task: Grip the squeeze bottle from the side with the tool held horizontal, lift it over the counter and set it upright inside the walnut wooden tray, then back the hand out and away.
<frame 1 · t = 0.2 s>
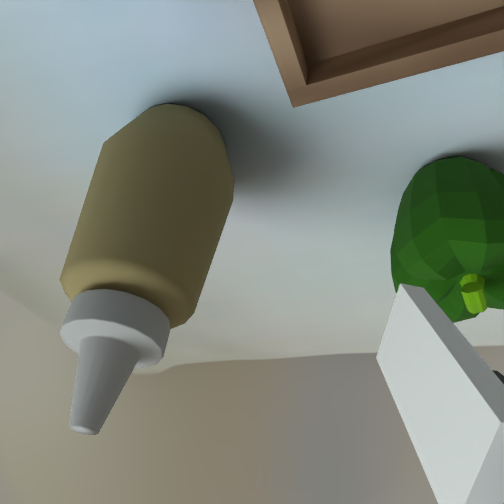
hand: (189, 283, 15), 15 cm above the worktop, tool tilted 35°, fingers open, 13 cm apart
squeeze bottle: (180, 139, 30), on the worktop
bell pepper: (452, 185, 30), on the worktop
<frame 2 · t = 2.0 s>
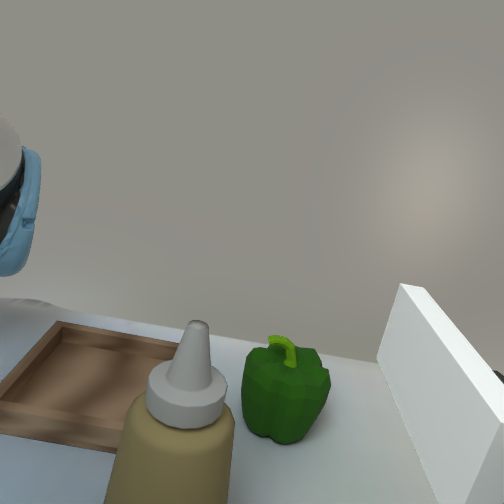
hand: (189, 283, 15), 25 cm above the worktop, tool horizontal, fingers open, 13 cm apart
walnut tray: (99, 391, 46), on the worktop
bell pepper: (273, 426, 47), on the worktop
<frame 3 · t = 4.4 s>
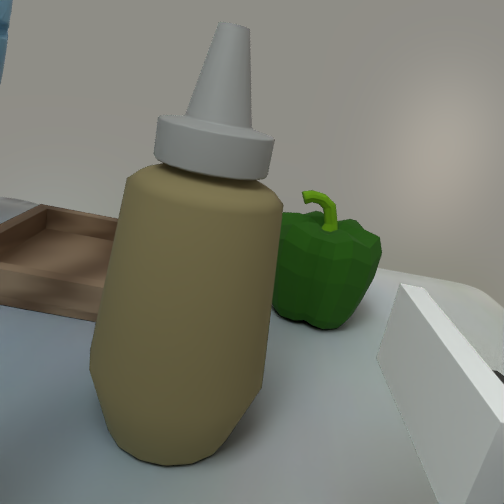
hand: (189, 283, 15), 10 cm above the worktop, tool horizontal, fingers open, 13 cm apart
walnut tray: (91, 272, 38), on the worktop
squeeze bottle: (168, 426, 23), on the worktop
bell pepper: (307, 316, 38), on the worktop
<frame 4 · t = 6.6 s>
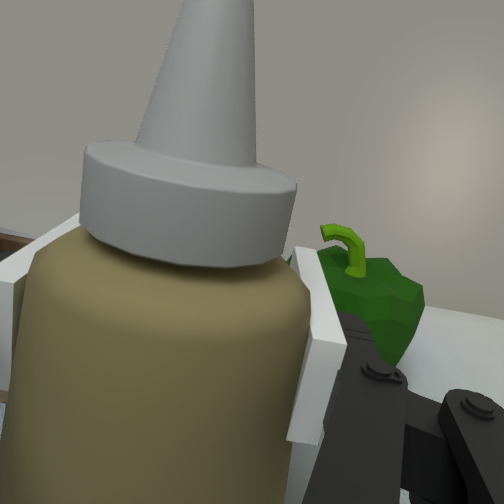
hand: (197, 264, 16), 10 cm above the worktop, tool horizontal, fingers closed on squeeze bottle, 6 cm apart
walnut tray: (49, 325, 29), on the worktop
bell pepper: (324, 380, 30), on the worktop
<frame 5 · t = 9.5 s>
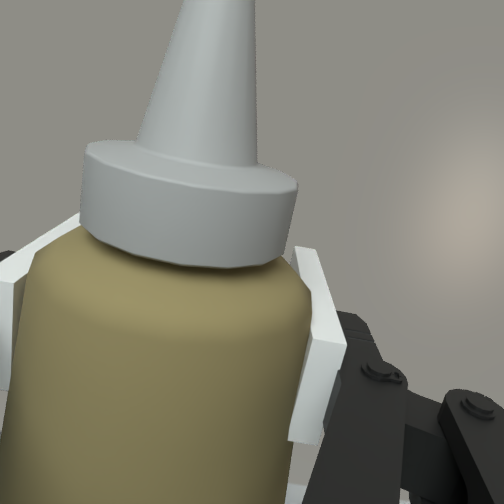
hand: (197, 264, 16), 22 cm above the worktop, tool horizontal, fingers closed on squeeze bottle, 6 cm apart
when the fingers open (12 cm above the worktop, at t = 12.2 s): squeeze bottle drops 1 cm, resting on walnut tray.
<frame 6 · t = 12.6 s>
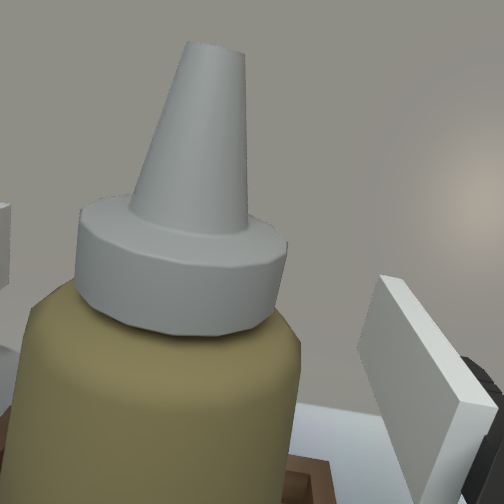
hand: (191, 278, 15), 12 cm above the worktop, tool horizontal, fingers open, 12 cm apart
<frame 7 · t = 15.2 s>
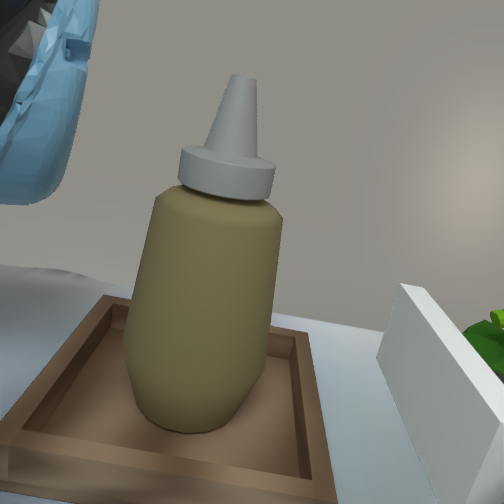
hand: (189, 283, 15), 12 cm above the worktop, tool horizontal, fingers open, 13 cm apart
walnut tray: (184, 408, 28), on the worktop
squeeze bottle: (186, 403, 27), resting on walnut tray
bell pepper: (476, 466, 28), on the worktop
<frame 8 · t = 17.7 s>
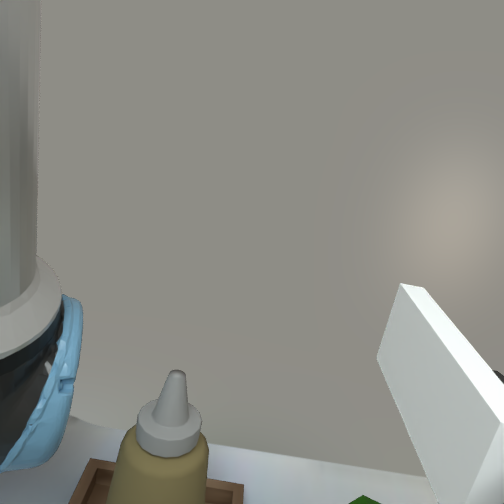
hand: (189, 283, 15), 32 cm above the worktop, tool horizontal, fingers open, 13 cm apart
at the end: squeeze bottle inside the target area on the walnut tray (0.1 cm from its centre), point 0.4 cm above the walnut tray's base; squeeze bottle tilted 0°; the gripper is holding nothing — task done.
